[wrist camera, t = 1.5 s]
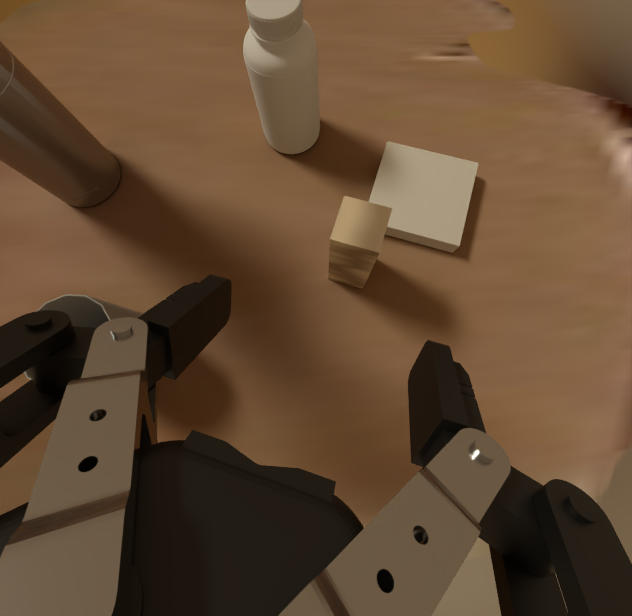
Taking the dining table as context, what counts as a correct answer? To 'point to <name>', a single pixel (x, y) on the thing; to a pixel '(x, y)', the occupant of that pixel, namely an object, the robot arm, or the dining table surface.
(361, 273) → the maple block
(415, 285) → the dining table surface
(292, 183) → the dining table surface
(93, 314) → the cup
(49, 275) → the dining table surface
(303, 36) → the pill bottle
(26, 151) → the robot arm
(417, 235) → the block
